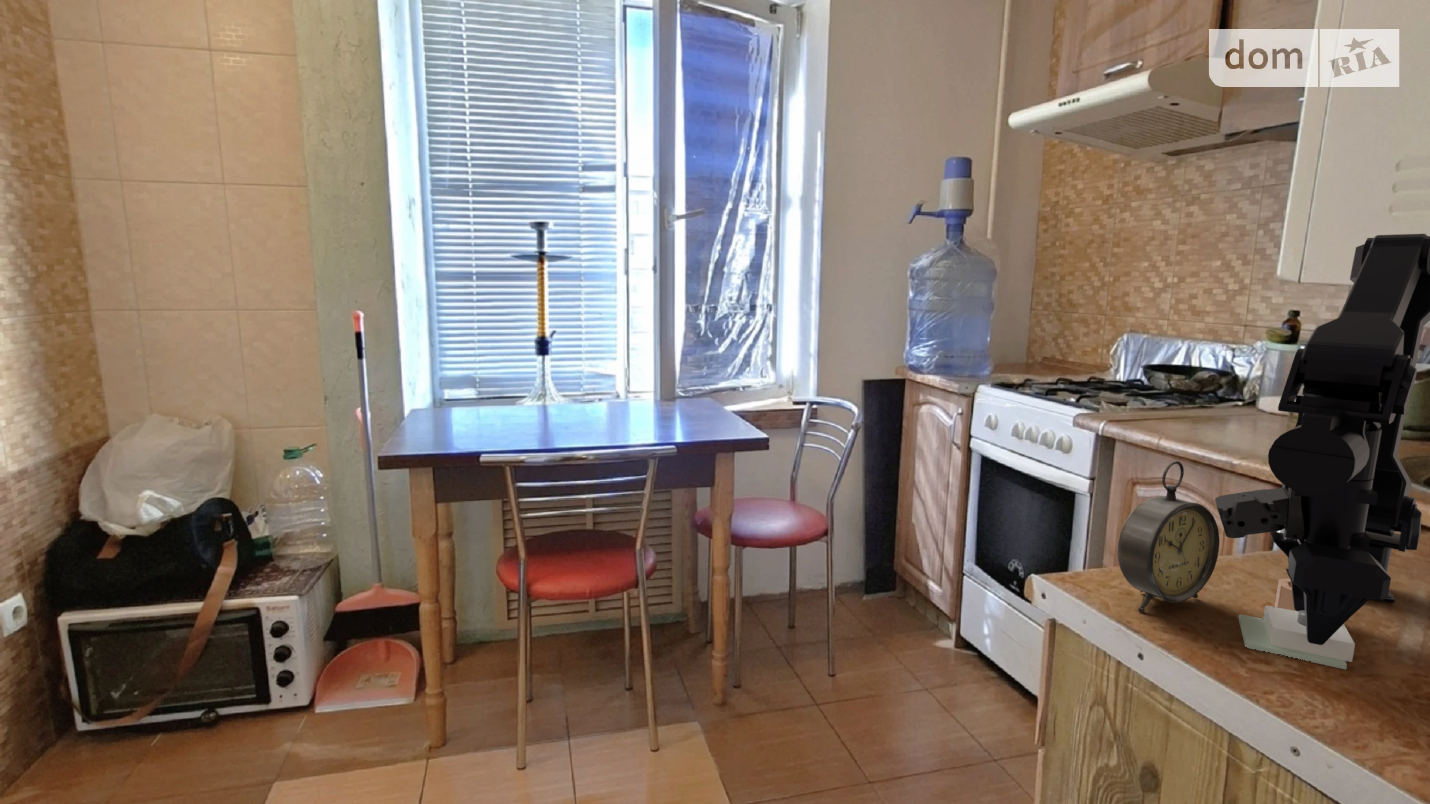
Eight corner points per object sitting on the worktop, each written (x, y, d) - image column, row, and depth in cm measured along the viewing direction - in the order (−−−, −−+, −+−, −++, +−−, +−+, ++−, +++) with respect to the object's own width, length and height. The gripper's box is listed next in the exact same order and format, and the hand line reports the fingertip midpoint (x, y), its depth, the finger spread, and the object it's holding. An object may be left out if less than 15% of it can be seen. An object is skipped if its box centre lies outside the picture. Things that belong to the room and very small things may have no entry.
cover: (1262, 621, 73) (1266, 596, 73) (1338, 636, 70) (1342, 610, 70) (1270, 644, 69) (1274, 618, 68) (1351, 662, 65) (1356, 634, 65)
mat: (1238, 618, 75) (1238, 613, 75) (1330, 636, 71) (1331, 632, 71) (1245, 647, 69) (1246, 642, 69) (1346, 669, 65) (1346, 664, 65)
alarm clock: (1146, 621, 74) (1164, 472, 71) (1101, 599, 79) (1116, 459, 76) (1215, 603, 78) (1235, 461, 75) (1169, 584, 83) (1185, 450, 80)
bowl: (1272, 604, 78) (1276, 575, 77) (1326, 615, 76) (1331, 584, 75) (1278, 622, 74) (1283, 590, 73) (1335, 633, 72) (1340, 601, 71)
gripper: (1219, 442, 78) (1202, 574, 81) (1236, 484, 63) (1214, 646, 65) (1352, 455, 72) (1328, 597, 75) (1406, 505, 57) (1374, 682, 60)
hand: (1307, 626), depth 69 cm, fingers open, 7 cm apart
